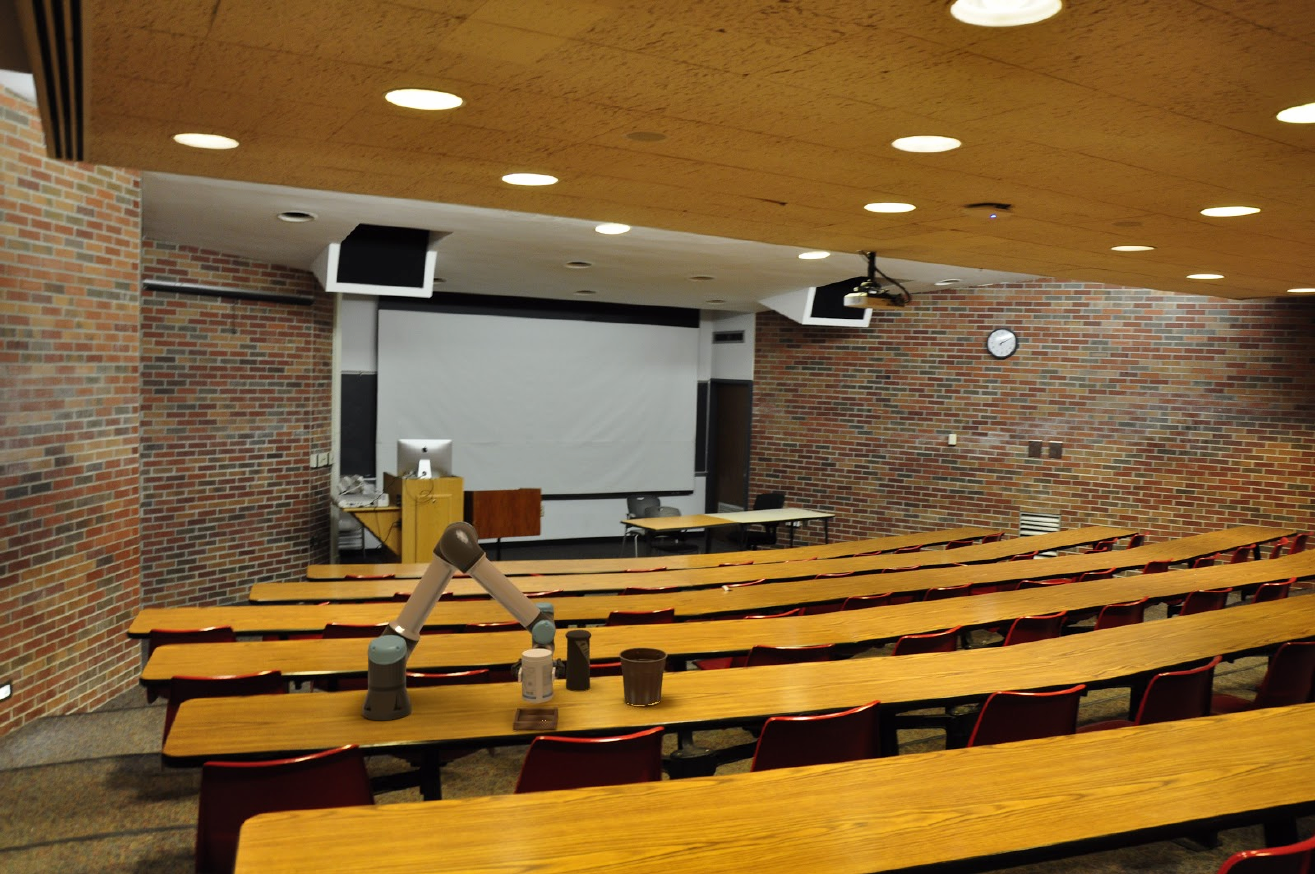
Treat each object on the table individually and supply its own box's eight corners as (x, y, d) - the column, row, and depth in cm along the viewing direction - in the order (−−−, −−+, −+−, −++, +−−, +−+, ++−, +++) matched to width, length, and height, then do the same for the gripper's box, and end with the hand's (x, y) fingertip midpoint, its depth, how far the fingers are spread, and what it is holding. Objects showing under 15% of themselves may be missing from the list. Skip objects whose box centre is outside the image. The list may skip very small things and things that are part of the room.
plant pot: (657, 712, 300) (658, 663, 299) (611, 706, 305) (611, 658, 304) (672, 697, 315) (673, 650, 315) (628, 691, 320) (628, 645, 320)
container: (586, 692, 319) (587, 635, 318) (561, 690, 321) (562, 633, 320) (593, 685, 327) (594, 629, 326) (569, 683, 329) (569, 627, 328)
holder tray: (513, 730, 281) (513, 722, 281) (517, 716, 294) (517, 708, 294) (556, 730, 282) (556, 722, 282) (558, 715, 295) (558, 708, 295)
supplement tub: (549, 692, 294) (549, 647, 293) (556, 702, 285) (556, 655, 285) (518, 696, 291) (518, 649, 290) (525, 705, 282) (525, 657, 281)
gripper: (574, 668, 306) (572, 689, 284) (507, 668, 305) (499, 690, 283) (574, 645, 306) (572, 665, 284) (507, 646, 305) (499, 666, 282)
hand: (536, 678), depth 283 cm, fingers closed on supplement tub, 9 cm apart
